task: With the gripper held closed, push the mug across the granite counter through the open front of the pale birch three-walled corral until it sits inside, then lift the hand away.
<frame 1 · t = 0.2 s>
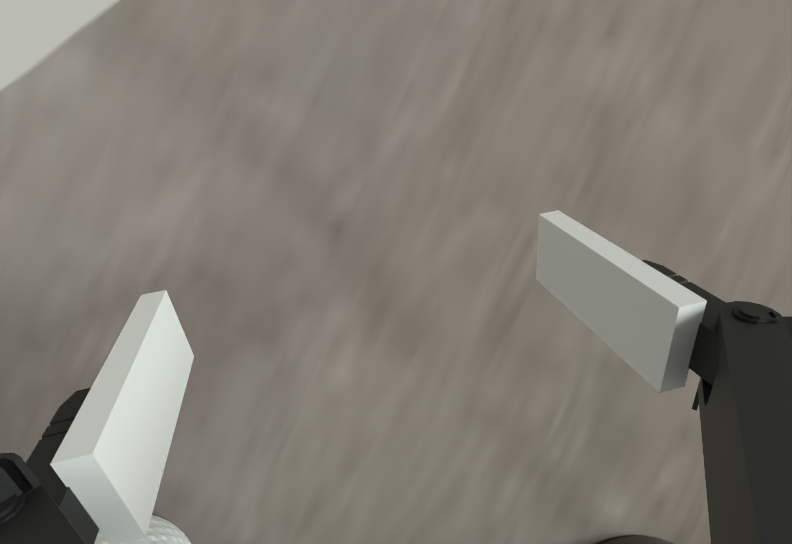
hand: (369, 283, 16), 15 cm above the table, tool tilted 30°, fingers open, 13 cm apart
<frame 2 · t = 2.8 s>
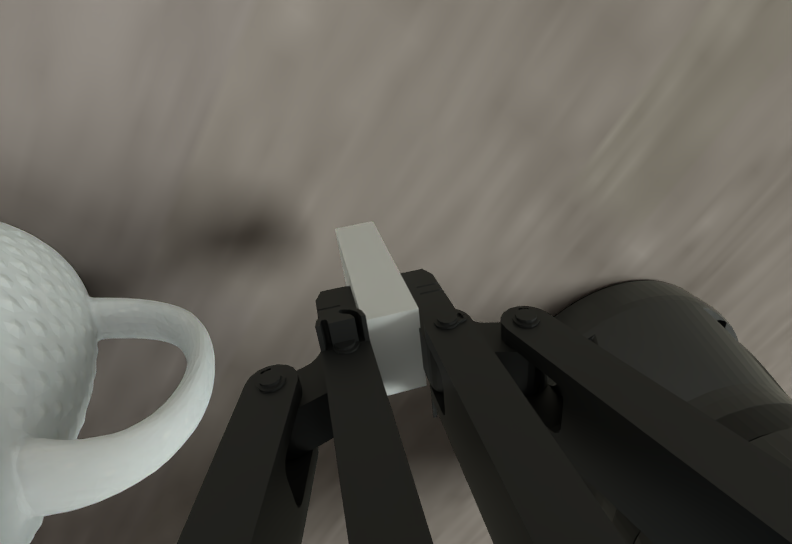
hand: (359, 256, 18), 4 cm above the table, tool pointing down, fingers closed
mug: (26, 291, 19), on the table
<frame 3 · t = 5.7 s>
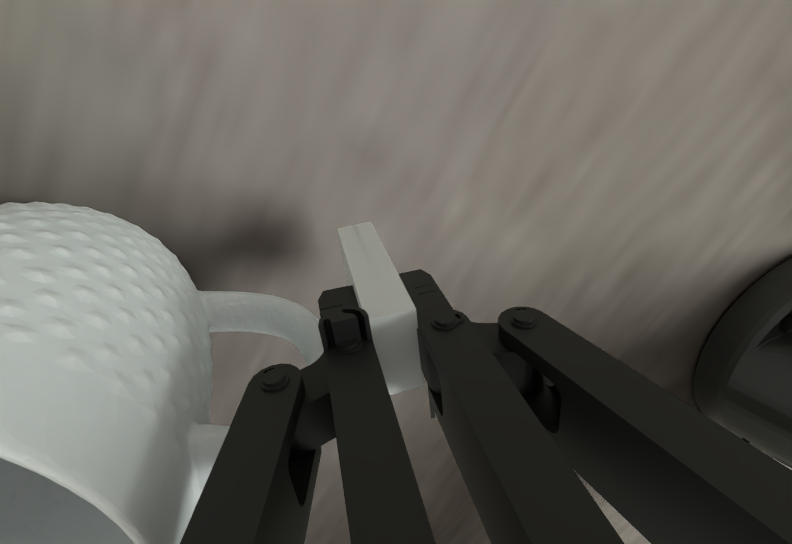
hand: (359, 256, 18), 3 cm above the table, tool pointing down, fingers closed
mug: (126, 286, 19), on the table, touching gripper, hand
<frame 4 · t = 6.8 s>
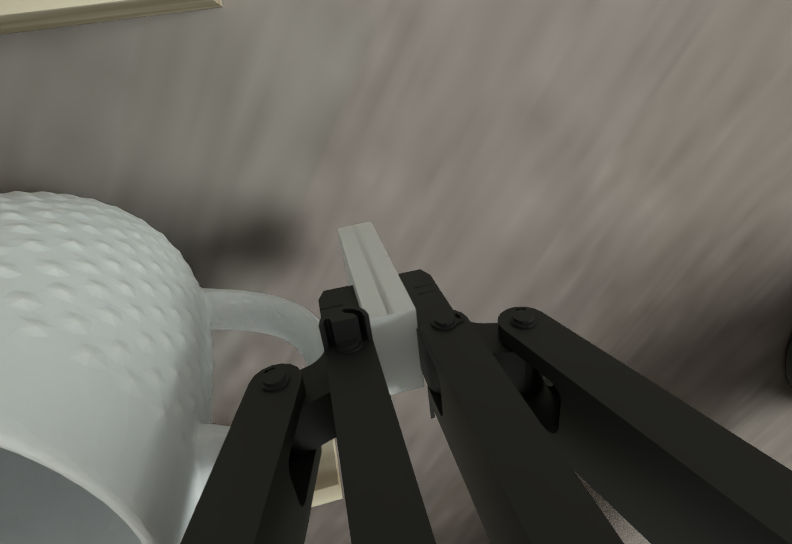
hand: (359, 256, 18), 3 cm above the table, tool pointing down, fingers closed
corral: (46, 300, 19), on the table
mug: (126, 279, 19), on the table, touching gripper, hand
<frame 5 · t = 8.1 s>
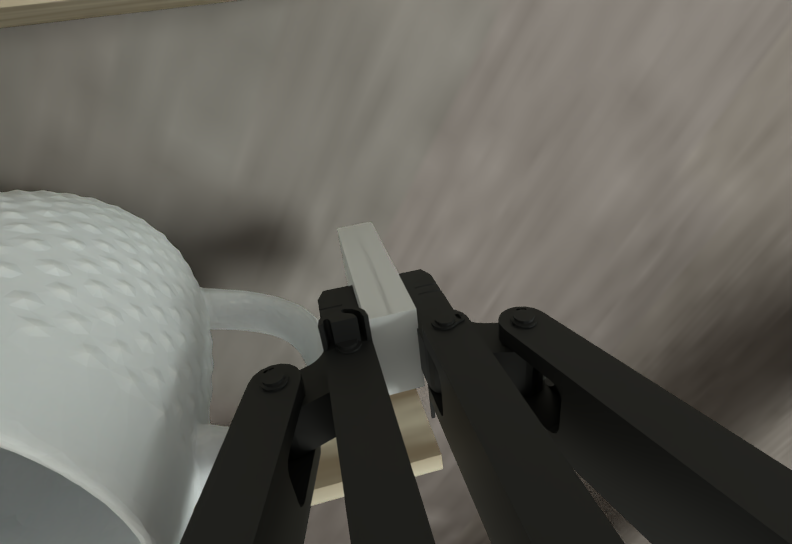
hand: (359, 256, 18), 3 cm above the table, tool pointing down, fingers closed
corral: (168, 272, 19), on the table
mug: (126, 278, 19), on the table, touching hand
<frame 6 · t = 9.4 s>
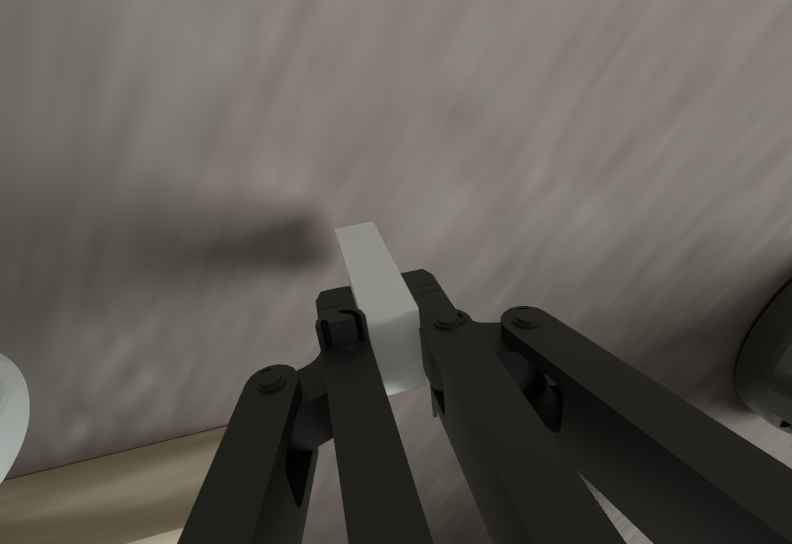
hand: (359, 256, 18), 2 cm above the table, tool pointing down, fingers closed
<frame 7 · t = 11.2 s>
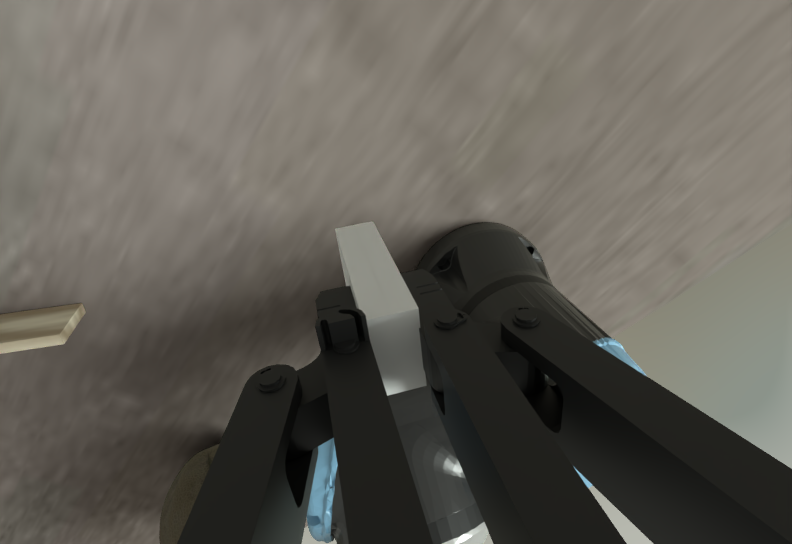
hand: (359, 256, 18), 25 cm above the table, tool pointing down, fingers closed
cantaloupe: (236, 458, 55), on the table
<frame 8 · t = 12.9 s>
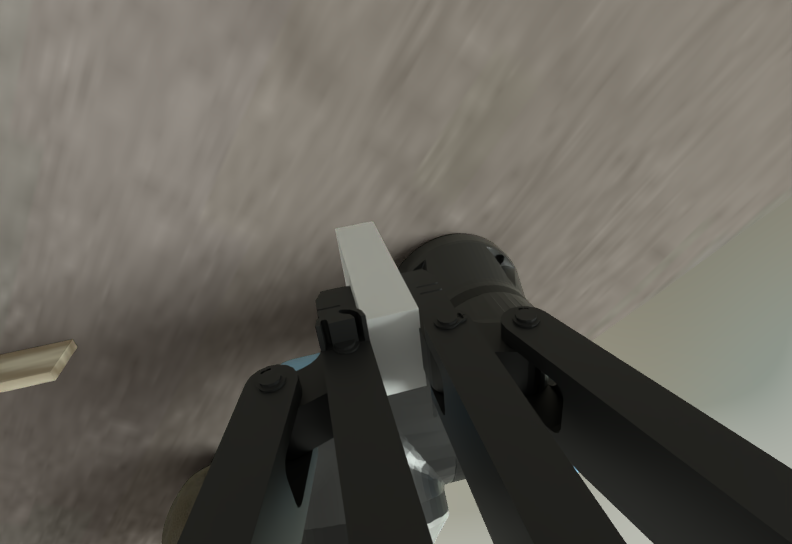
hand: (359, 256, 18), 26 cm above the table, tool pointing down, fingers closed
cantaloupe: (236, 474, 57), on the table
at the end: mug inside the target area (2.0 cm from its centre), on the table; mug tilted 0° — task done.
